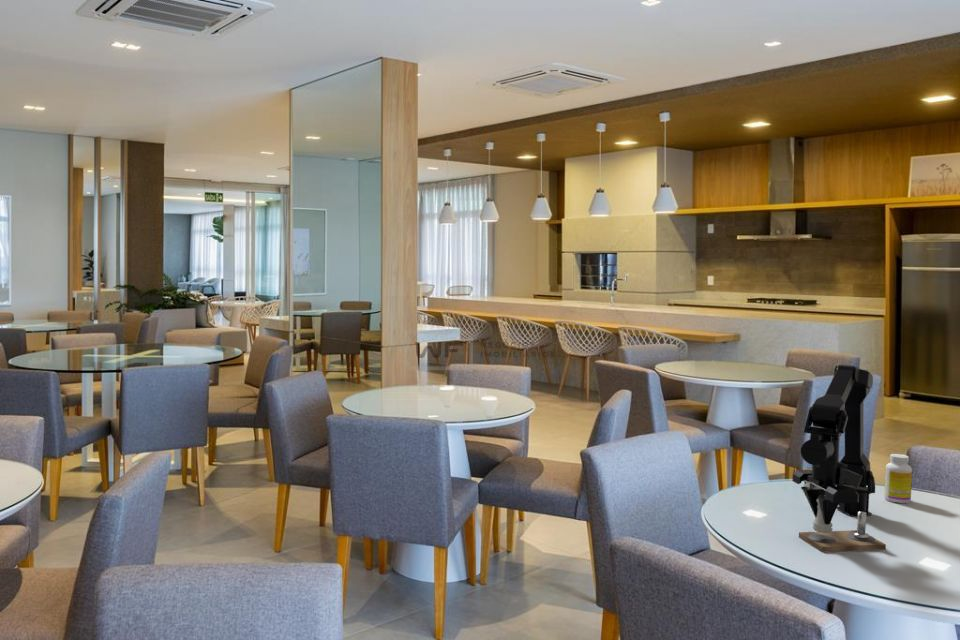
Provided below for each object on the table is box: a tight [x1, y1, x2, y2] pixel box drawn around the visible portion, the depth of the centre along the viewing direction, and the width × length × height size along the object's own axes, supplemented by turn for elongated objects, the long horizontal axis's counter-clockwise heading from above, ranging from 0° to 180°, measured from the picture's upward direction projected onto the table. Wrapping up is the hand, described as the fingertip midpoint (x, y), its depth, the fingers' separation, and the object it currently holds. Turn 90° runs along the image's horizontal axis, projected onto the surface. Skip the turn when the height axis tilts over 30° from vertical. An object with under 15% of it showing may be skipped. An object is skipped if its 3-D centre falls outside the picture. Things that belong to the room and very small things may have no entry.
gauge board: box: [798, 529, 887, 553], centre depth 190 cm, size 16×10×1 cm, turn 98°
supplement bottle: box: [884, 453, 913, 504], centre depth 225 cm, size 7×7×13 cm
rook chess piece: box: [812, 495, 834, 533], centre depth 189 cm, size 4×4×8 cm
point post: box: [854, 511, 870, 539], centre depth 191 cm, size 3×3×6 cm
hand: (822, 521), depth 189 cm, fingers closed on rook chess piece, 3 cm apart
